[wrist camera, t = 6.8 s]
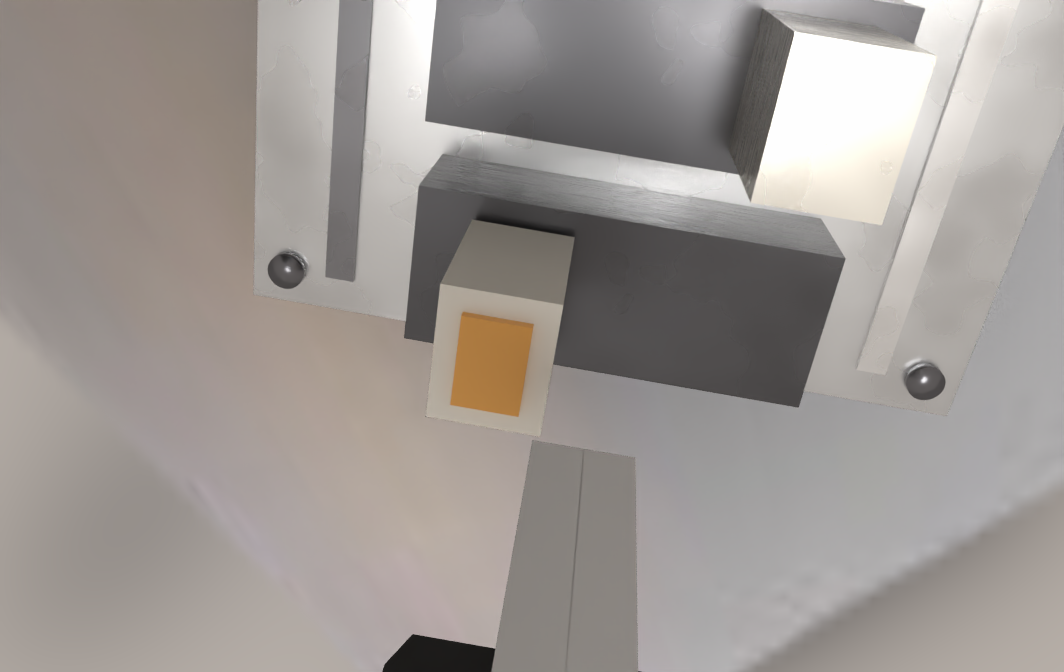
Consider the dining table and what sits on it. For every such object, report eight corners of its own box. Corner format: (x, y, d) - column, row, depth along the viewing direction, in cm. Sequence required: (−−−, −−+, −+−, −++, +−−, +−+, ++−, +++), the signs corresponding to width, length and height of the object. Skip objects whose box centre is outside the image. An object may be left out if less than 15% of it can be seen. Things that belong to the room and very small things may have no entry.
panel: (277, 269, 28) (134, 417, 20) (296, -423, 21) (81, -637, 13) (925, 383, 28) (1050, 581, 19) (1181, -285, 20) (1553, -414, 12)
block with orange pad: (458, 334, 22) (423, 421, 19) (472, 219, 21) (438, 287, 17) (554, 351, 22) (539, 442, 19) (574, 237, 21) (562, 309, 17)
